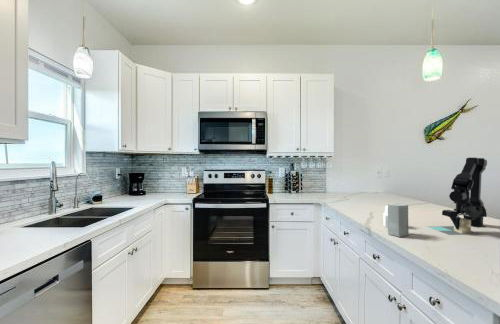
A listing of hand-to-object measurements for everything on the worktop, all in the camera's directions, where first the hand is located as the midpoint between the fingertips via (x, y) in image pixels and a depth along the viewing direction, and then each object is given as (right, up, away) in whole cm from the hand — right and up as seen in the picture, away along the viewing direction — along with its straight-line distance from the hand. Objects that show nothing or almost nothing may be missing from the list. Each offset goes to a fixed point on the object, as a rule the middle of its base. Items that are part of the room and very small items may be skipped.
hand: (462, 229), depth 143 cm
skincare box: (-37, -2, -4) cm, 37 cm away
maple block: (0, -2, 0) cm, 2 cm away
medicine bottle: (-32, -2, +12) cm, 34 cm away
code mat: (-2, -2, +4) cm, 4 cm away
